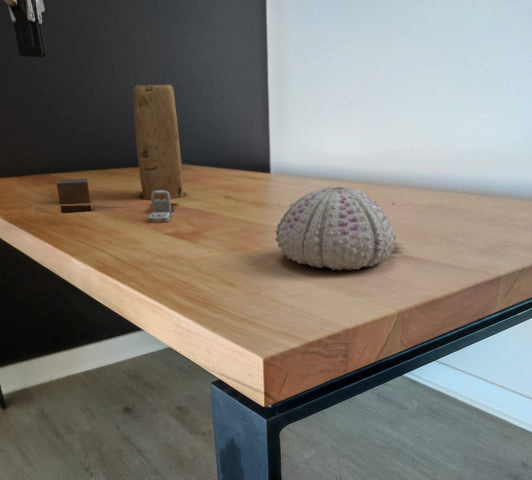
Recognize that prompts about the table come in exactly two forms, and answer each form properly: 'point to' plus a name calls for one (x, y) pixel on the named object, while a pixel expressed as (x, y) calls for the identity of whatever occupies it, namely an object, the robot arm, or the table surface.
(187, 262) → the table surface
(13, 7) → the robot arm
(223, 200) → the table surface
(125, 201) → the table surface
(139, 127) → the block
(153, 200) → the strap clip
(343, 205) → the sea urchin shell
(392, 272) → the table surface
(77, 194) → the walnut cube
